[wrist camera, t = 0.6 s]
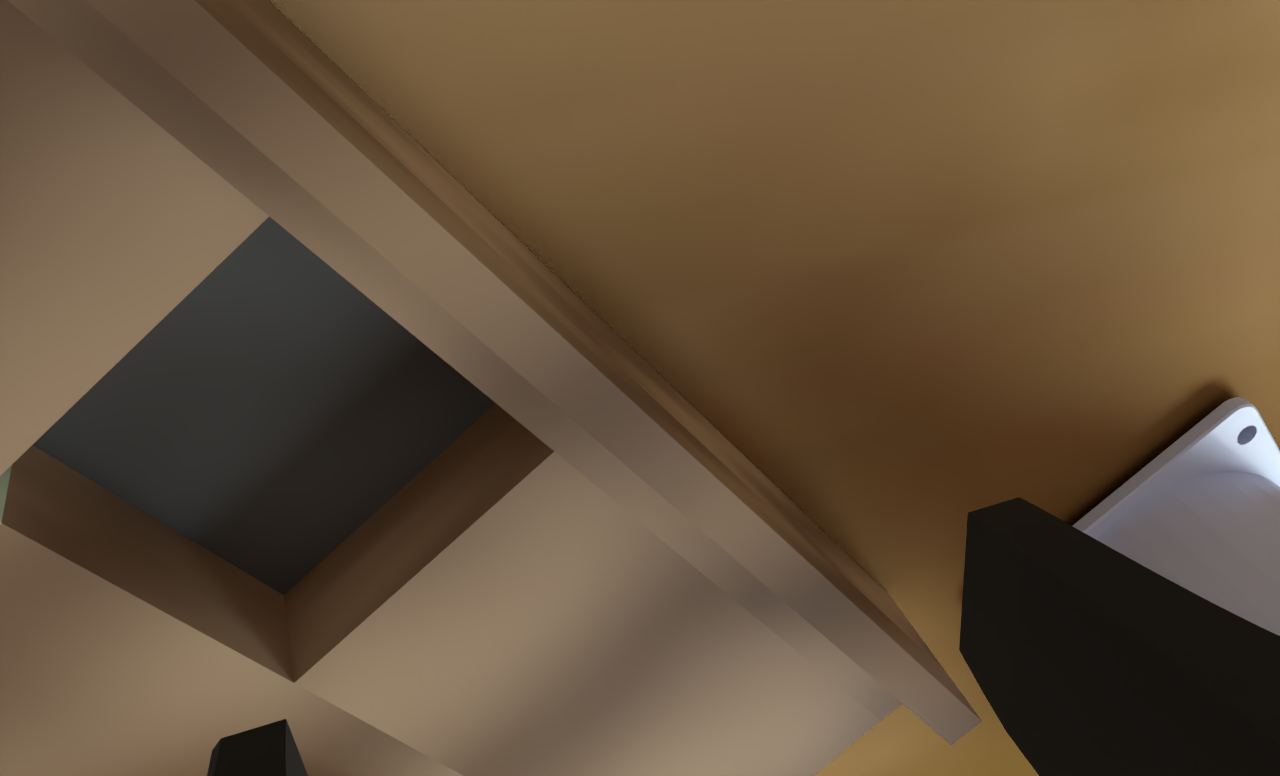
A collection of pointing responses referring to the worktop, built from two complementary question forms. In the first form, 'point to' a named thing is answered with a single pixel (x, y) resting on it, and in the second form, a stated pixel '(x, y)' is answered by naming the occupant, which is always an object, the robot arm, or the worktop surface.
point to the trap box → (363, 456)
